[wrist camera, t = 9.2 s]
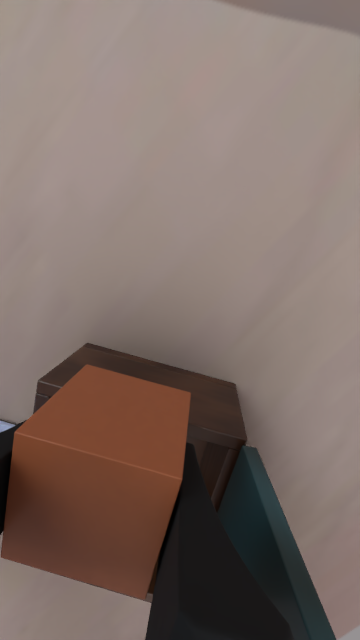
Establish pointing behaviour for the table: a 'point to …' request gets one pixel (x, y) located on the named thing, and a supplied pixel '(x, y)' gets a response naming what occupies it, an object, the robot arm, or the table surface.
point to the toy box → (204, 415)
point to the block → (97, 480)
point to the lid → (271, 547)
